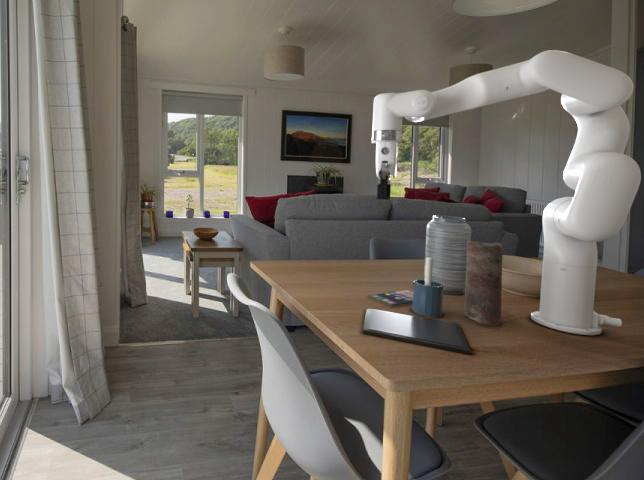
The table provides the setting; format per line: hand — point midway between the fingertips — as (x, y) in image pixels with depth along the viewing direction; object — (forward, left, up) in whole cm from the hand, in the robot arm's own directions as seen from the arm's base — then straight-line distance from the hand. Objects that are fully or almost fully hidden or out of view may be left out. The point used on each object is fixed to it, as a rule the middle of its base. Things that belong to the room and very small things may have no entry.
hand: (383, 198), depth 111 cm
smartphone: (-5, -2, -29) cm, 30 cm away
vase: (-18, -20, -29) cm, 40 cm away
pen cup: (-11, +6, -29) cm, 32 cm away
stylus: (-11, +6, -29) cm, 31 cm away
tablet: (-7, +21, -29) cm, 36 cm away
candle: (-23, +5, -29) cm, 38 cm away
